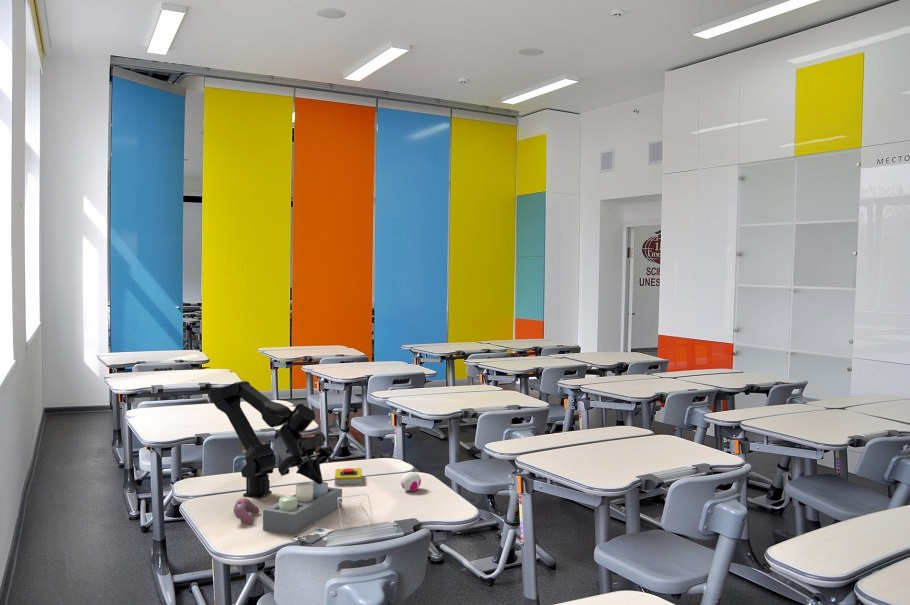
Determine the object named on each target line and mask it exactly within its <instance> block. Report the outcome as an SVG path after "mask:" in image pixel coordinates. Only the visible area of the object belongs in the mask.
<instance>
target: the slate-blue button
mask: <svg viewBox="0 0 910 605" xmlns="http://www.w3.org/2000/svg"><path fill="white" fill-rule="evenodd" d="M311 483H312V484H313V494H318V495H324V494H326V493H328V487H329V483H328V482H327V481H323V483H322V484H318V483H316V482H314V481H313V482H311Z"/></svg>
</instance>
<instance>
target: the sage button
mask: <svg viewBox="0 0 910 605" xmlns="http://www.w3.org/2000/svg"><path fill="white" fill-rule="evenodd" d="M291 496H292V495H290V496H283V497H280V498H279V499H278V500H279V501H278V502H279V510H282V511H289V512H292V511H294V510H296V509H297V498H296V497H291Z"/></svg>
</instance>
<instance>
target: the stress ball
mask: <svg viewBox="0 0 910 605" xmlns="http://www.w3.org/2000/svg"><path fill="white" fill-rule="evenodd" d="M421 483H422V478H421V476H420V475H419V473H417V472H415V471H414V472H413V471H409V472H406V473H404V474H403V475H402V476H401V478H400V485H401V487H402V488H403V489H404V490H405V491H409V492H412V491H417V492H419V490H418V488H420V487H421Z"/></svg>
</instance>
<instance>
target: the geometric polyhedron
mask: <svg viewBox="0 0 910 605" xmlns="http://www.w3.org/2000/svg"><path fill="white" fill-rule="evenodd" d="M359 496H360V494H355V495H353V494H352V495H345V496H342V497H338V498H339V499H342V501H347V502H351V503H354V504H358V506H357V508H356V509H355V511H354V512H353V513H352V515H351V516H350V515H349V514H348V512H347V510H346V508H345V507H344V505H343V502H342V503H341V502H340V500H339V499H338V498H337V500H339V502H340V503H341V505H342V507H341V508H343V510H344V511H345V513H346V515H347V517H348V518H349V519H348V520H347V522H346V523H345V525H344V526H343V524H342V517H341V510H340V509H341V508H340V509H338V514H339V520H340V521H339V522H340V527H341V528H340V529H341V530H343V529H345V527H346V525H347V524H348V523H349V521H351V520H354V521H357V522H360V523H363V524H368V525H370V524H374V520H373V512H372V508H371V507H372V506H371V501H370V494H369V493H363V494H361V496H365V497H364V498H363V500H362V501H361V502H356V501H354V500H353V501H352V500H349V499H345V498H349V497H359ZM367 497H368V502H369V503H368V504H369V510H370V515H371V517H370V516H369V515H368V513H367V511H366V510H365V508H364V506H363V505H362V504H363V502H365V500H366V498H367ZM339 502H338V507H339ZM360 506H361V507H362V509H363V511H364V513H365V514H366V516H367V517H368V519H369V521H370V522H371V523H368V522H366V521H361V520H359V519H355V518H352V517H353V516H354V515H355V513H356V512H357V511H358V509H359V508H360ZM349 528H350V527H348V528H346V530H350V529H349Z"/></svg>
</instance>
